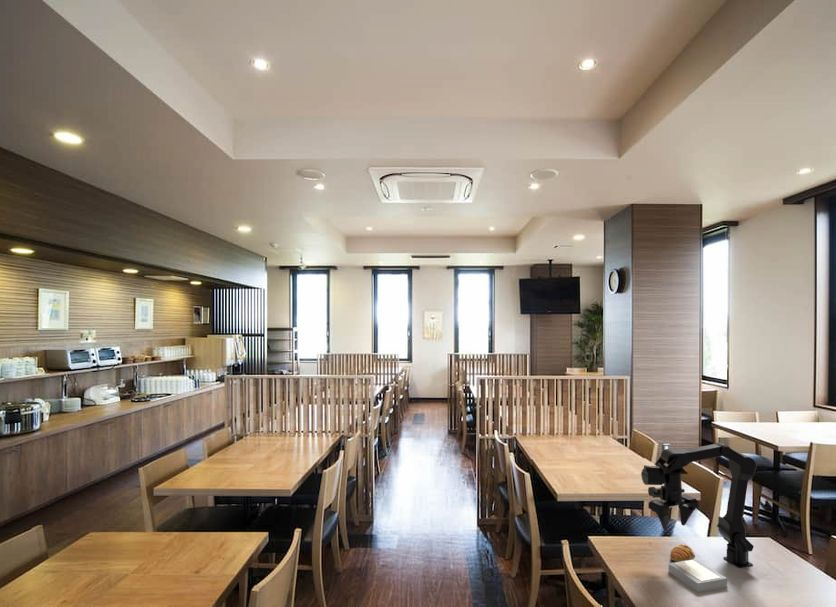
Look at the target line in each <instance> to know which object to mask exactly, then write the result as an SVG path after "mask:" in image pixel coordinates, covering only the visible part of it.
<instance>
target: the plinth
mask: <svg viewBox="0 0 836 607" xmlns="http://www.w3.org/2000/svg"><path fill="white" fill-rule="evenodd" d="M668 573H670V574H671V575H672V576H674V577H675V578H677V579H678V580H680V582H682V583H684V584H685V585H687V586H688V587H690V588H691V589H692V590H694V591H695V592H697V593H703V592H706V591H707V592H708V591H712V590H713V591H714V590H718V589H724V588H727V587H728V579H727V577H726V576H724V575H722V573H719V572H717V571H716V570H715V569H713V568H711V567H710V566H708V565H706V564H705V563H703V562H702V561H700V560H699V559H697V558H694V559H693V560H686V561H680V562H676V561H674V562H669V563H668Z"/></svg>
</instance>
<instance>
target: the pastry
mask: <svg viewBox="0 0 836 607" xmlns="http://www.w3.org/2000/svg"><path fill="white" fill-rule="evenodd" d="M669 557H670V560H672V561H674V562H680V561H686V560H693V559H696V555H695V553H694V551H693V550H692V548H691V547H689V545H687V544H679V545H677V546H674V547H673V548H672V549H671V551H670V554H669Z"/></svg>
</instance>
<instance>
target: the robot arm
mask: <svg viewBox="0 0 836 607" xmlns="http://www.w3.org/2000/svg"><path fill="white" fill-rule="evenodd" d="M721 457H722V458H725V459H726V460H728V468H729V471H730V474H731V481H730V488H729V494H728V501H727V507H726V513H725V515H724V516H723V517H722V516H718V520H717V521H718V522H717V524H716V527H717V529H718V532H719V534H720V535H721V536H722V538H723V540H725V541H726V542H727V544H726V556H723V559H724V560H725V561H727V562H728V563H731V565H734V566H735V567H737V568H740V569H741V568H747V567H753V566H754V565H753V563H752V562H750V561H749V552H753V550H754V545H753V544H752V543H751V542H750V541H749V540H748V539H747V535H746V534H747V533H746V527H745V524H744V521H743V516H744V512H745V511H744V509H745V505H746V498H747V492H748V484H749V481H750V480H751V479H752V477H754V476H755V472H756V470H757V462H756V461H755V460H754V459H753V458H752V457H750V456H747V454H743V453H741V452H738V451H736V450H734V449H732V448H731V447H729V446H728V445H726V444H725V443H722V442H716V443H713V444H708V445H703V446H697V447H691V448H687V449H682V448H665V449H662V452H661V454H660V456H659V458H658V459H657V460H656V462H655V463H654V465H644V466H643V468H642V470H641V474H640V477H641V480H642V483H643V484H644V485H645V486H648V489H647V493H648V496H649V497H652V498H653V499H652V500H650V501H648V506H647V507H648V509H649V510H651V511H653V512H654V513H656V515H657V517H658V519H659V523H660V524H661V527H662V529H663V530H665V531H666V530H667V528H668V524H669V520H670V515H671V514H670V509H671V508H674V507H675V508H676V507H678V509H679V516H680V524H681V525H682V526H685V525H686V524H687V523H688V520H689V519H690V517H691V515H692V514H693V513H694V511H696V509H697V508H698V507H699V501H698V500H697V498H695V497H692V496H690V495H688V494H686V493H685V489H684V488H683V487H682V482H683V481H682V475H688V471H686V469H684V468H685V467H687V466H689V464H690V463H693V462H700V461H703V460H710V459H716V458H721ZM665 464H666V465H665ZM656 486H660V487H656ZM683 493H685V494H683ZM655 498H658V499H655ZM662 501H664V502H662Z"/></svg>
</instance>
